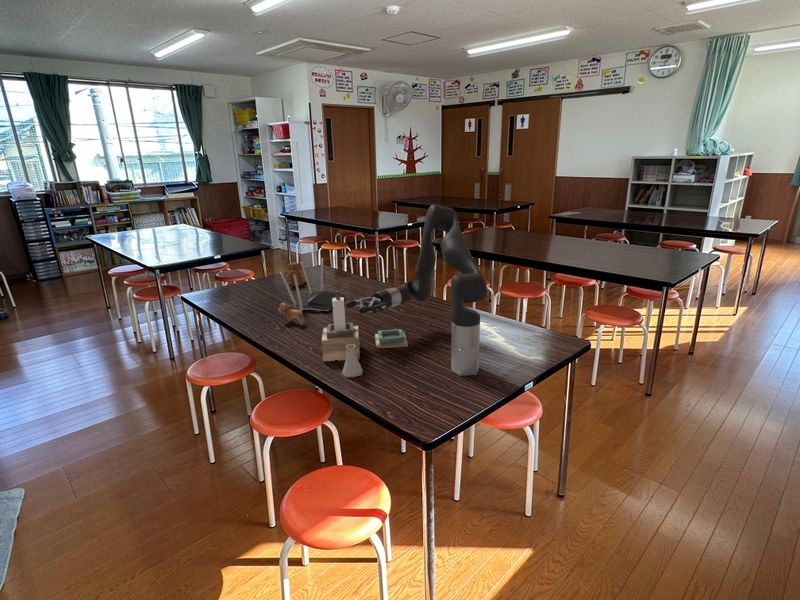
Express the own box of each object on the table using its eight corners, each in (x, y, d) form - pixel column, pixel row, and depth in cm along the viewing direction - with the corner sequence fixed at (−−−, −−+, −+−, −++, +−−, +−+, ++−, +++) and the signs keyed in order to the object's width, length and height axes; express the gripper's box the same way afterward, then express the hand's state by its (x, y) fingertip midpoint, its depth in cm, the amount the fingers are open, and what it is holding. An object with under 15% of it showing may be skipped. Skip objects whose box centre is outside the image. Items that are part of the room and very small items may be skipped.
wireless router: (324, 317, 205) (320, 275, 199) (278, 314, 210) (273, 273, 204) (348, 295, 236) (346, 258, 230) (308, 293, 241) (304, 257, 235)
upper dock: (359, 359, 162) (358, 333, 159) (323, 361, 161) (320, 335, 157) (359, 344, 174) (357, 320, 171) (325, 346, 173) (323, 322, 170)
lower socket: (407, 346, 171) (407, 339, 170) (376, 348, 170) (376, 341, 169) (404, 334, 183) (404, 327, 182) (375, 336, 182) (374, 329, 181)
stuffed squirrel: (307, 281, 264) (305, 259, 260) (303, 288, 251) (301, 265, 246) (290, 282, 264) (288, 260, 260) (285, 289, 250) (282, 266, 246)
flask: (343, 379, 147) (341, 351, 144) (340, 370, 154) (338, 343, 151) (365, 376, 149) (363, 348, 146) (360, 366, 156) (359, 340, 153)
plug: (345, 334, 163) (342, 292, 158) (334, 335, 163) (331, 293, 158) (346, 330, 167) (343, 289, 162) (335, 331, 167) (332, 290, 162)
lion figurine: (277, 323, 199) (275, 304, 196) (285, 319, 203) (283, 300, 200) (305, 327, 193) (303, 307, 190) (312, 323, 198) (310, 304, 195)
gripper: (375, 286, 180) (341, 294, 170) (398, 293, 170) (363, 303, 160) (376, 303, 182) (343, 313, 173) (399, 312, 172) (364, 322, 162)
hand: (353, 308), depth 166 cm, fingers open, 8 cm apart
